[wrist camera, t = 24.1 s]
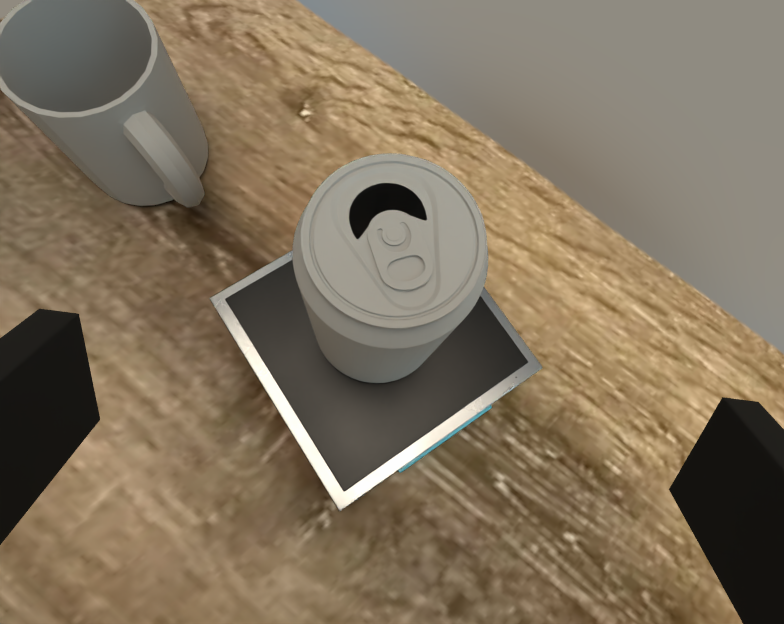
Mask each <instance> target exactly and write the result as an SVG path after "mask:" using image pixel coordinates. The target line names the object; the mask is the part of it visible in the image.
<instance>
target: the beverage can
mask: <svg viewBox="0 0 784 624" xmlns="http://www.w3.org/2000/svg"><path fill="white" fill-rule="evenodd" d="M293 267H294V272H295V277H296V280H297V283H298V286H299V289H300V292H301V295H302V298H303V301H304V304H305V307H306V310H307V313H308V316H309V319H310V322H311V325H312V327H313V330H314V333H315V336H316V339H317V342H318V344H319V347H320V349H321V351H322V352H323V354H324V355H325V357H326V358H327V360H328V361H329V362H330V363H331V364H332V365H333V366H334V367H335V368H336V369H338V370H339V371H340V372H342V373H343V374H345V375H347V376H349V377H351V378H353V379H356V380H359V381H363V382H369V383H386V382H391V381H395V380H398V379H401V378H403V377H405V376H407V375H409V374H410V373H412V372H413V371H415V370H416V369H417V368H418V367H419V366H420V365H421V364H422V363H423V362H424V361H425V360H426V359H427V358H428V357H429V356H430V355H431V354H432V353H433V352H434V351H435V350H436V348H437V347H438V346H439V345H440V344H441V343H442V342H443V341H444V340H445V339H446V338H447V337H448V336H449V335H450V334H451V332H452V331H453V330H454V329H455V328H456V327H457V326H458V325H459V324H460V323H461V322H462V321H463V320H464V319H465V317H466V316H467V315H468V314H469V313H470V311H471V310H472V309H473V307H474V306H475V304H476V302H477V300H478V299H479V297H480V294H481V292H482V290H483V287H484V284H485V280H486V276H487V269H488V248H487V236H486V229H485V224H484V220H483V217H482V214H481V212H480V209H479V207H478V205H477V203H476V201H475V200H474V198H473V197H472V195H471V194H470V192H469V191H468V190H467V189H466V187H465V186H464V185H463V184H462V183H461V182H460V181H459V180H458V179H457V178H456V177H455V176H453V175H452V174H451V173H449V172H448V171H446V170H445V169H443V168H442V167H440V166H438V165H436V164H434V163H432V162H430V161H428V160H425V159H421V158H418V157H413V156H409V155H404V154H377V155H371V156H366V157H363V158H360V159H357V160H354V161H352V162H350V163H348V164H346V165H344V166H342V167H340V168H339V169H337V170H336V171H335V172H333V173H332V174H331V175H330V176H329V177H327V178H326V179H325V180H324V181H323V182H322V184H321V185H320V186H319V187H318V188H317V190H316V191H315V192H314V194H313V196H312V197H311V199H310V201H309V203H308V205H307V206H306V208H305V210H304V211H303V213H302V215H301V217H300V220H299V222H298V225H297V228H296V231H295V235H294V241H293Z"/></svg>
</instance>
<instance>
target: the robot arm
mask: <svg viewBox="0 0 784 624" xmlns="http://www.w3.org/2000/svg"><path fill="white" fill-rule="evenodd" d="M99 420H100V416H99V411H98V407H97V402H96V397H95V392H94V387H93V382H92V377H91V372H90V367H89V362H88V357H87V352H86V347H85V342H84V337H83V332H82V327H81V323H80V318H79V314H76V313H68V312H60V311H53V310H45V309H39V310H37V311H36V312H35V313H33V314H32V315H31V316H29V317H28V318H27V319H25V320H24V321H23V322H21V323H20V324H19V325H17V326H16V327H15V328H13V329H12V330H11V331H9V332H8V333H7V334H5V335H4V336H3V337H1V338H0V545H1V543H2V542H3V541H4V540H5V538H6V537H7V536H8V535H9V533H10V532H11V531H12V530H13V528H14V527H15V526H16V524H17V523H18V522H19V521H20V519H21V518H22V517H23V516H24V514H25V513H26V512H27V511H28V509H29V508H30V507H31V506H32V504H33V503H34V502H35V501H36V499H37V498H38V497H39V496H40V494H41V493H42V492H43V491H44V489H45V488H46V487H47V486H48V484H49V483H50V482H51V481H52V479H53V478H54V477H55V476H56V474H57V473H58V472H59V470H60V469H61V468H62V467H63V465H64V464H65V463H66V462H67V460H68V459H69V458H70V457H71V455H72V454H73V453H74V452H75V450H76V449H77V448H78V447H79V445H80V444H81V443H82V442H83V440H84V439H85V438H86V437H87V435H88V434H89V433H90V432H91V430H92V429H93V428H94V427H95V425H96V424H97V423H98V422H99ZM669 490H670V492H671V494H672V496H673V497H674V499H675V501H676V503H677V505H678V507H679V508H680V510H681V512H682V514H683V516H684V517H685V519H686V521H687V523H688V525H689V526H690V528H691V530H692V532H693V534H694V535H695V537H696V539H697V541H698V543H699V544H700V546H701V548H702V550H703V552H704V553H705V555H706V557H707V559H708V561H709V563H710V564H711V566H712V568H713V570H714V572H715V573H716V575H717V577H718V579H719V581H720V582H721V584H722V586H723V588H724V590H725V591H726V593H727V595H728V597H729V599H730V600H731V602H732V604H733V606H734V608H735V610H736V611H737V613H738V615H739V617H740V619H741V620H742V622H743V624H784V429H783V428H782V427H781V426H780V425H779V424H778V423H777V422H776V421H775V419H774V418H773V417H772V416H771V415H770V414H769V413H768V412H767V411H766V410H765V409H764V408H763V406H762V405H761V404H760V403H759V402H754V401H746V400H739V399H731V398H722V399H721V401H720V403H719V404H718V406H717V408H716V410H715V411H714V413H713V415H712V416H711V418H710V420H709V422H708V423H707V425H706V427H705V428H704V430H703V432H702V434H701V435H700V437H699V439H698V441H697V442H696V444H695V446H694V447H693V449H692V451H691V453H690V454H689V456H688V458H687V459H686V461H685V463H684V465H683V466H682V468H681V470H680V472H679V473H678V475H677V477H676V478H675V480H674V482H673V484H672V485H671V487H670V489H669Z"/></svg>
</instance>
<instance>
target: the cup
mask: <svg viewBox="0 0 784 624" xmlns="http://www.w3.org/2000/svg"><path fill="white" fill-rule="evenodd" d="M0 88H1V90H2V91H3V93H4V94H5V95H6V96H7V97H8V98H9V99H10V100H11V101H12V102H13V103H14V104H15V105H16V106H17V107H18V108H19V109H20V110H21V111H22V112H23V113H24V114H25V115H26V116H27V117H28V118H29V119H30V120H31V121H32V122H33V123H34V124H35V125H36V126H37V127H38V128H39V129H40V130H41V131H42V132H43V133H44V134H45V135H46V136H47V137H48V138H49V139H50V140H51V141H52V142H53V143H54V144H55V145H56V146H57V147H58V148H59V149H60V150H61V151H62V152H63V153H64V154H65V155H66V156H67V157H68V158H69V159H70V160H71V161H72V162H73V163H74V164H75V165H76V166H77V167H78V168H79V169H80V170H81V171H82V172H83V173H84V174H85V175H86V176H87V177H88V178H89V179H90V180H91V181H92V182H94V183H95V184H96V185H97V186H98V187H99V188H101V189H102V190H103V191H104V192H105V193H107V194H108V195H109V196H110V197H112V198H115V199H117V200H119V201H121V202H123V203H127V204H133V205H138V206H145V205H157V204H161V203H164V202H168V201H171V200H173V199H174V200H176V201H177V202H178V203H180V204H182V205H184V206H186V207H192V206H196V205H199V204H200V202H201V200H202V198H203V197H204V194H205V193H204V189H203V186H202V183H201V181H200V179H199V178H200V176H201V174H202V173H203V171H204V169H205V166H206V162H207V159H208V142H207V139H206V136H205V133H204V130H203V127H202V124H201V122H200V120H199V118H198V116H197V114H196V112H195V110H194V107H193V105H192V103H191V101H190V99H189V97H188V95H187V93H186V91H185V89H184V86H183V84H182V82H181V80H180V78H179V76H178V74H177V72H176V70H175V68H174V66H173V63H172V61H171V59H170V57H169V55H168V53H167V51H166V49H165V47H164V45H163V43H162V40H161V38H160V36H159V34H158V32H157V30H156V28H155V26H154V24H153V22H152V20H151V19H150V17H149V16H148V14H147V13H146V12H145V10H144V9H143V7H141V6H140V5H139V4H138V3H136V2H135V1H134V0H24V1H23V2H21V3H20V4H19V5H17V6H16V7H15V8H13V9H12V10H11V11H10V12H9V13H8V15H7V16H6V17H5V18H4V19H3V20H2V22H1V23H0Z"/></svg>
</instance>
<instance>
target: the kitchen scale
mask: <svg viewBox="0 0 784 624" xmlns="http://www.w3.org/2000/svg"><path fill="white" fill-rule="evenodd" d="M209 299H210V301H211V302H212V304H213V306H214V307H215V309H216V311H217V312H218V314H219V315H220V317H221V319H222V320H223V322H224V324H225V325H226V327H227V329H228V330H229V332H230V333H231V335H232V337H233V338H234V340H235V342H236V343H237V345H238V346H239V348H240V350H241V351H242V353H243V355H244V356H245V358H246V360H247V361H248V363H249V364H250V366H251V368H252V369H253V371H254V373H255V374H256V376H257V378H258V379H259V381H260V382H261V384H262V386H263V387H264V389H265V391H266V392H267V394H268V396H269V397H270V399H271V400H272V402H273V404H274V405H275V407H276V409H277V410H278V412H279V414H280V415H281V417H282V418H283V420H284V422H285V423H286V425H287V427H288V428H289V430H290V432H291V433H292V435H293V436H294V438H295V440H296V441H297V443H298V445H299V446H300V448H301V450H302V451H303V453H304V454H305V456H306V458H307V459H308V461H309V463H310V464H311V466H312V468H313V469H314V471H315V472H316V474H317V476H318V477H319V479H320V481H321V482H322V484H323V485H324V487H325V489H326V490H327V492H328V494H329V495H330V497H331V499H332V500H333V502H334V503H335V505H336V507H337V508H338V510H339V511H342V510H343V509H345V508H346V507H348V506H349V505H350V504H352V503H353V502H355V501H356V500H357V499H359V498H360V497H362V496H363V495H364V494H366V493H367V492H369V491H370V490H371V489H373V488H374V487H376V486H377V485H378V484H380V483H381V482H383V481H384V480H386V479H387V478H388V477H390V476H391V475H393V474H394V473H395V472H397V471H398V472H400V473H401V472H402V471H404V470H405V469H407V468H408V467H409V466H411V465H412V464H414V463H415V462H416V461H418V460H419V459H421V458H422V457H423V456H425V455H426V454H428V453H429V452H430V451H432V450H433V449H435V448H436V447H438V446H439V445H440V444H442V443H443V442H445V441H446V440H447V439H449V438H450V437H452V436H453V435H454V434H456V433H457V432H459V431H460V430H461V429H463V428H464V427H466V426H467V425H468V424H470V423H471V422H473V421H474V420H475V419H477V418H478V417H480V416H481V415H482V414H484V413H485V412H487V411H488V410H489V409H491V408H492V407H491V404H492V403H494V402H495V401H497V400H498V399H499V398H501V397H502V396H504V395H505V394H507V393H508V392H509V391H511V390H512V389H514V388H515V387H516V386H518V385H519V384H521V383H522V382H523V381H525V380H526V379H528V378H529V377H530V376H532V375H533V374H535V373H536V372H537V371H539V370H540V369H542V366H541V364H540V363H539V362H538V360H537V359H536V357H535V356H534V355H533V353H532V352H531V351H530V349H529V348H528V347H527V345H526V344H525V342H524V341H523V340H522V338H521V337H520V336H519V334H518V333H517V331H516V330H515V329H514V327H513V326H512V325H511V323H510V322H509V320H508V319H507V318H506V316H505V315H504V314H503V312H502V311H501V309H500V308H499V307H498V305H497V304H496V303H495V301H494V300H493V298H492V297H491V296H490V294H489V293H488V292H487V290H486V289H485V288H484V287H483V290H482V292H481V294H480V297H479V299H478V300H477V302H476V304H475V306H474V307H473V309H472V310H471V311H470V313H469V314H468V315H467V316H466V317H465V319H464V320H463V321H462V322H461V323H460V324H459V325H458V326H457V327H456V328H455V329H454V330H453V331H452V332H451V334H450V335H449V336H448V337H447V338H446V339H445V340H444V341H443V342H442V343H441V344H440V345H439V346H438V347H437V348H436V350H435V351H434V352H433V353H432V354H431V355H430V356H429V357H428V358H427V359H426V360H425V361H424V362H423V363H422V364H421V365H420V366H419V367H418V368H417V369H416V370H415V371H413V372H412V373H410V374H409V375H407V376H405V377H403V378H401V379H398V380H395V381H391V382H386V383H369V382H363V381H359V380H356V379H353V378H351V377H349V376H347V375H345V374H343V373H342V372H340V371H339V370H338V369H336V368H335V367H334V366H333V365H332V364H331V363H330V362H329V361H328V360H327V358H326V357H325V355H324V354H323V352H322V351H321V349H320V347H319V344H318V342H317V339H316V336H315V333H314V330H313V327H312V325H311V322H310V319H309V316H308V313H307V310H306V307H305V304H304V301H303V298H302V295H301V292H300V289H299V286H298V283H297V280H296V277H295V272H294V267H293V250H292V251H290V252H288V253H287V254H285V255H283V256H281V257H280V258H278V259H276V260H274V261H273V262H271V263H269V264H267V265H266V266H264V267H262V268H261V269H259V270H257V271H255V272H254V273H252V274H250V275H248V276H247V277H245V278H243V279H242V280H240V281H238V282H236V283H235V284H233V285H231V286H229V287H228V288H226V289H224V290H222V291H221V292H219V293H217V294H216V295H214V296H212V297H210V298H209Z"/></svg>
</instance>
